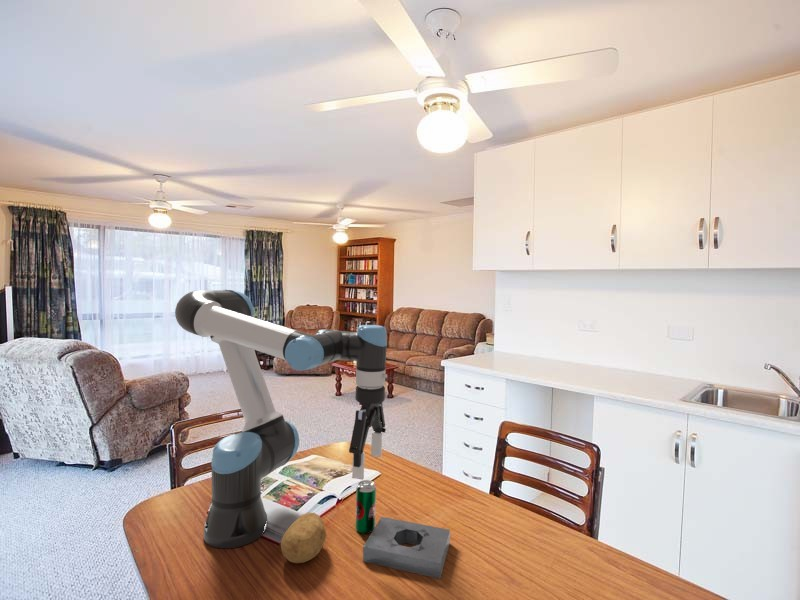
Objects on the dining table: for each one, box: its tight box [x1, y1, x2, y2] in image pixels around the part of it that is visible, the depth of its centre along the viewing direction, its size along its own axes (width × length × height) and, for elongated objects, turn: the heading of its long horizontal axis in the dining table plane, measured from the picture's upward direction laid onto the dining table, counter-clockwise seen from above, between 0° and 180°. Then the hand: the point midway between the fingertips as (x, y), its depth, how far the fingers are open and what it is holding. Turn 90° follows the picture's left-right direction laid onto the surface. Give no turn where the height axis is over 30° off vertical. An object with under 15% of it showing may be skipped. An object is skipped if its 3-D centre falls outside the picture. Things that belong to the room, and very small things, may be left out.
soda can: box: [355, 479, 377, 535], centre depth 108 cm, size 5×5×12 cm
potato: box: [280, 512, 327, 564], centre depth 97 cm, size 10×14×8 cm
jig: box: [362, 516, 451, 579], centre depth 99 cm, size 18×13×4 cm
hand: (367, 466), depth 107 cm, fingers open, 13 cm apart
